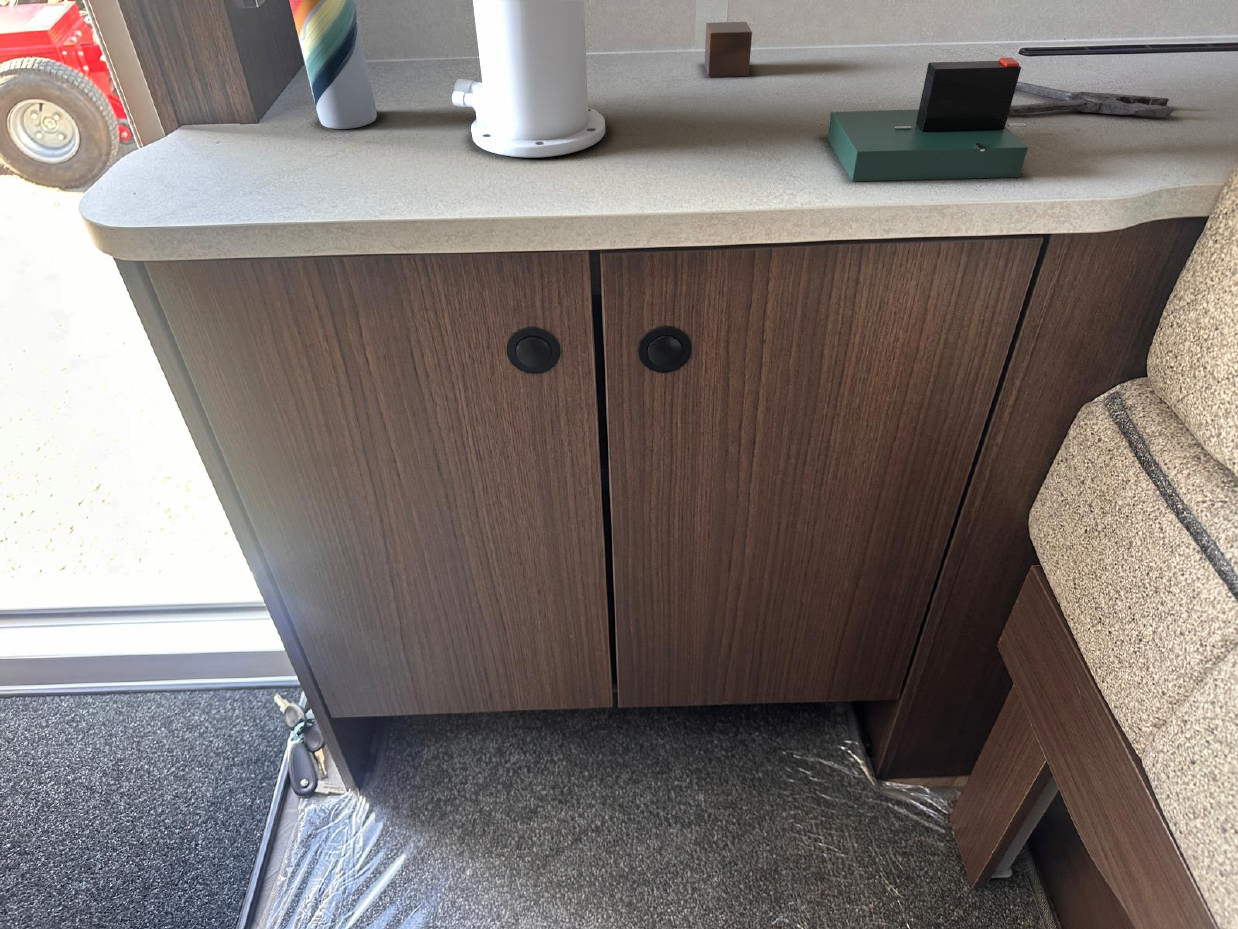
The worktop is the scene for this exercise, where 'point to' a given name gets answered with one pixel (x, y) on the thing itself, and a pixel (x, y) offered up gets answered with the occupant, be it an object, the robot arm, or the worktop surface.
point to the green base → (920, 148)
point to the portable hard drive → (967, 95)
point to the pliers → (1092, 102)
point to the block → (727, 49)
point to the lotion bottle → (335, 62)
